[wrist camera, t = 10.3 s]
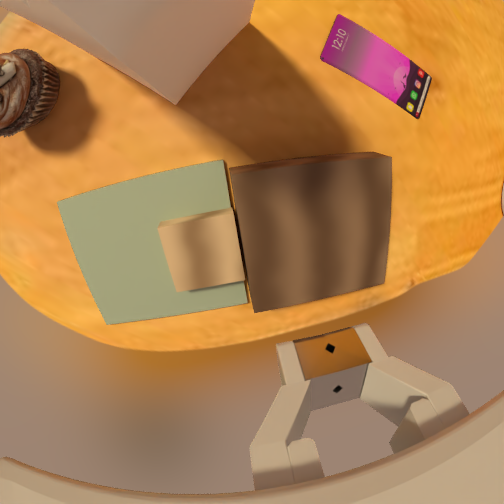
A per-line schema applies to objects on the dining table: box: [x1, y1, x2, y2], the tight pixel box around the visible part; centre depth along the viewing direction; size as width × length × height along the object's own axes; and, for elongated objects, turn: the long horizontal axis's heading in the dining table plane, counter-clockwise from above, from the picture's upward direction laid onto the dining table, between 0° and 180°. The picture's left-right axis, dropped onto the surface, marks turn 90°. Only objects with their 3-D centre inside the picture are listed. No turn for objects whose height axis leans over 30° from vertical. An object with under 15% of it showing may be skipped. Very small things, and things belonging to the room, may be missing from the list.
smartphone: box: [320, 14, 432, 119], centre depth 25 cm, size 7×15×1 cm, turn 70°
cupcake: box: [0, 49, 60, 137], centre depth 16 cm, size 10×10×10 cm
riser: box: [229, 152, 392, 313], centre depth 31 cm, size 17×16×4 cm
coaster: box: [157, 208, 245, 292], centre depth 31 cm, size 8×8×2 cm
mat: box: [57, 160, 248, 325], centre depth 32 cm, size 20×18×1 cm
